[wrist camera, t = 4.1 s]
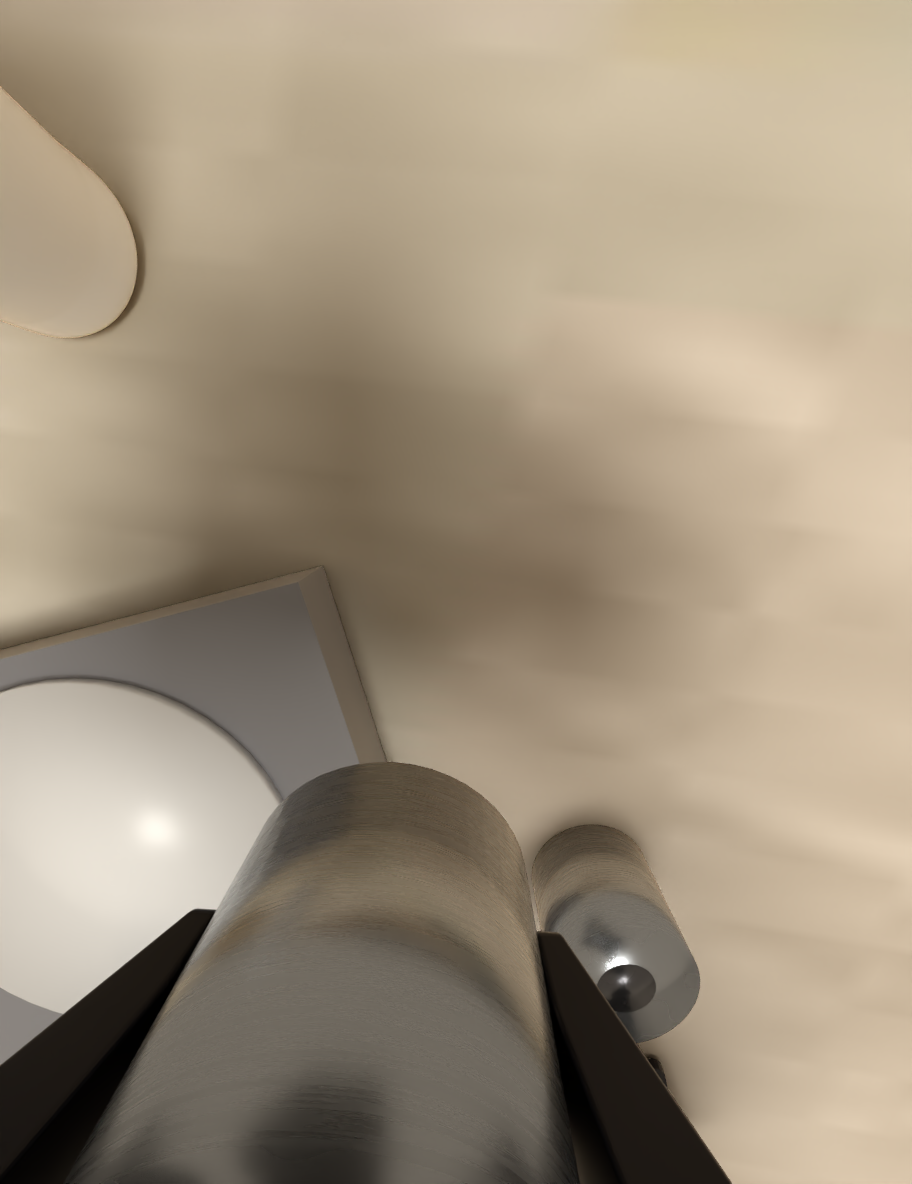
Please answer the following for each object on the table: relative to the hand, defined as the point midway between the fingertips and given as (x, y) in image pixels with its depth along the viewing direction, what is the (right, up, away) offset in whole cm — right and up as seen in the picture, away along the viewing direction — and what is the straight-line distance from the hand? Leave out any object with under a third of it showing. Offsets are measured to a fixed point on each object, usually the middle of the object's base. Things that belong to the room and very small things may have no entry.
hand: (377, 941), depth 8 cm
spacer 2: (+7, -7, +14) cm, 17 cm away
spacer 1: (0, 0, +1) cm, 1 cm away
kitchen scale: (-11, -5, +13) cm, 18 cm away
